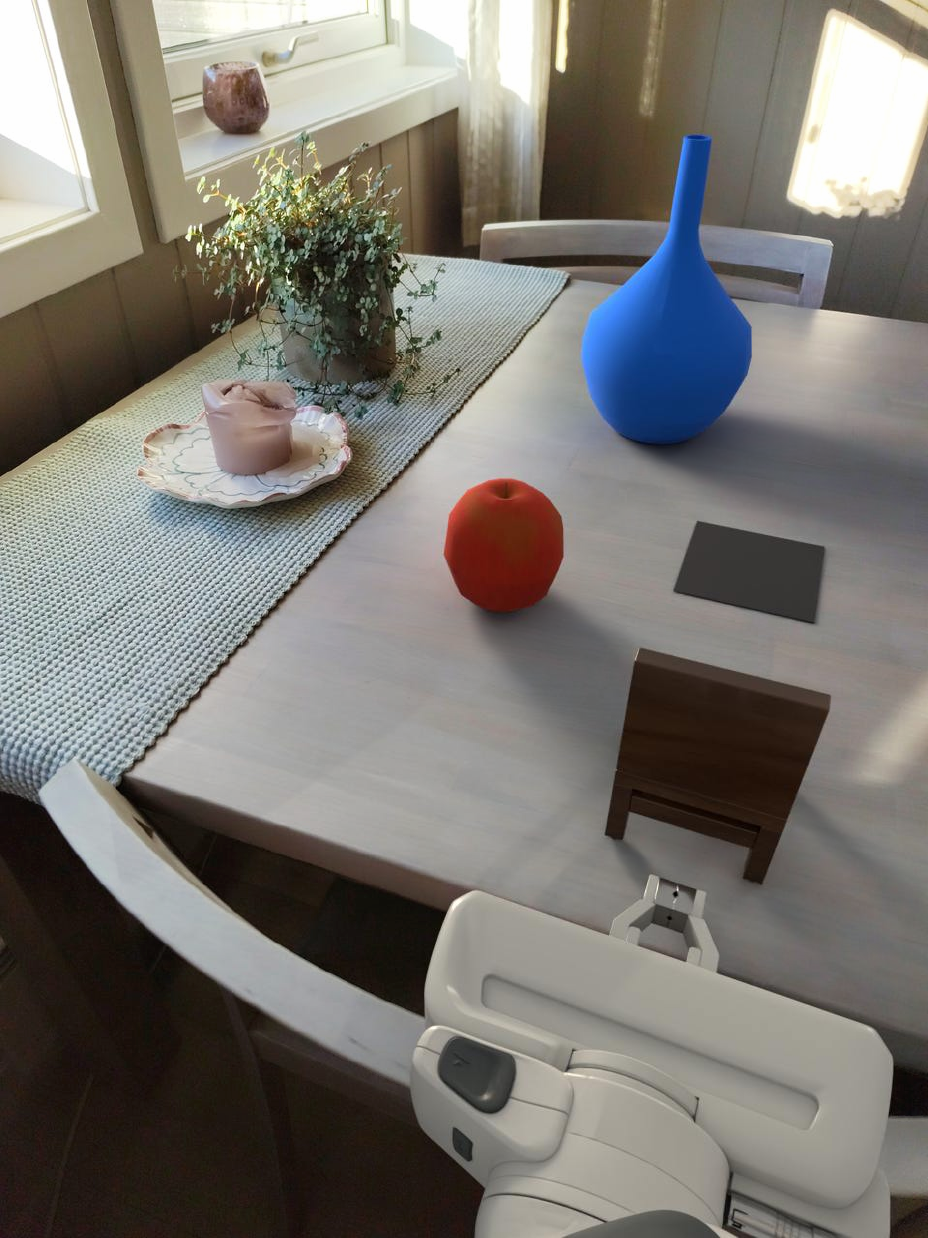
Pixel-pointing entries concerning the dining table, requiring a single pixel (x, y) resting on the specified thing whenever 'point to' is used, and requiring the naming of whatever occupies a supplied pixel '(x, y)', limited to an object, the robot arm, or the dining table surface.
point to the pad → (752, 571)
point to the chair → (714, 753)
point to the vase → (669, 331)
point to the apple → (504, 545)
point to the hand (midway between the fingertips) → (676, 889)
